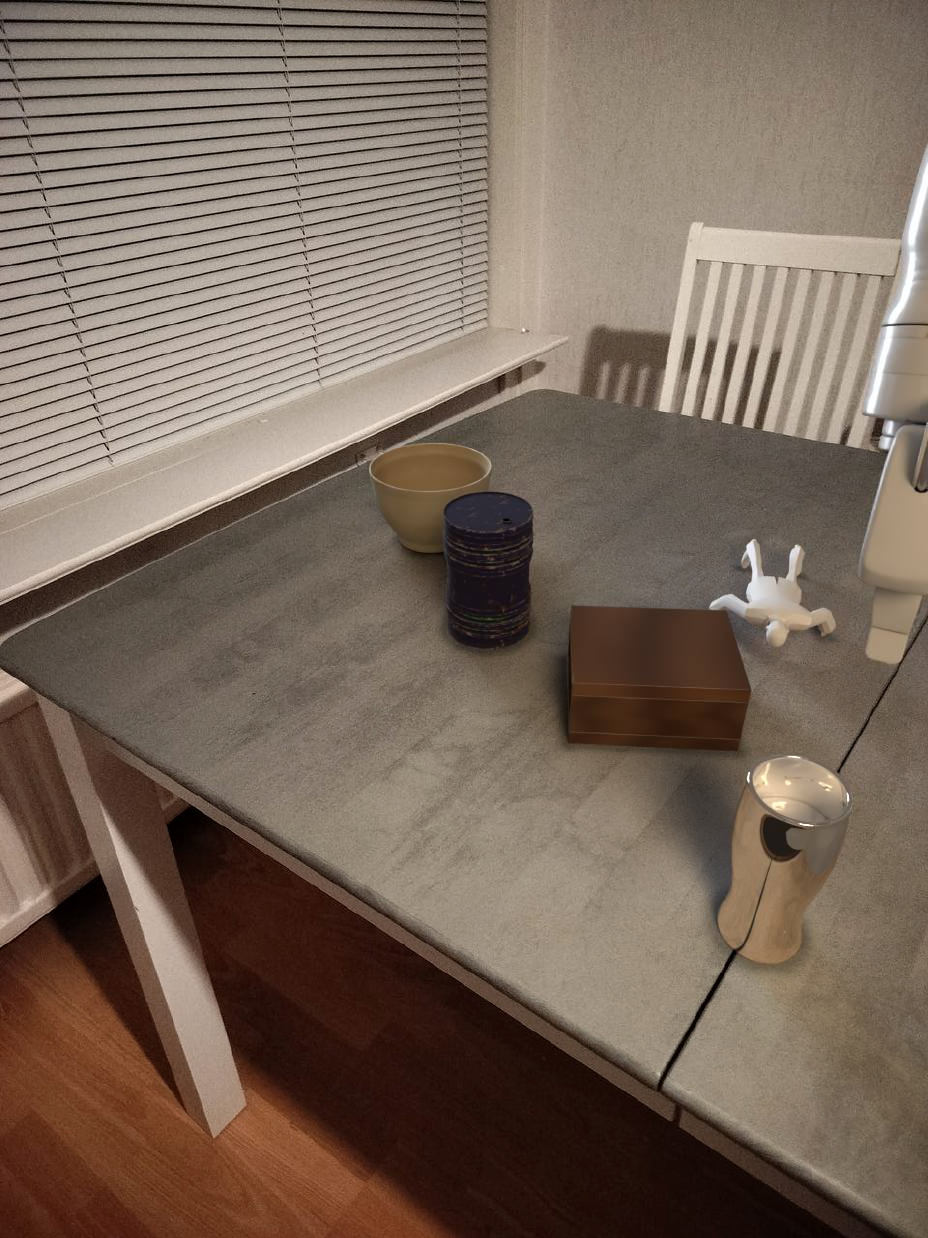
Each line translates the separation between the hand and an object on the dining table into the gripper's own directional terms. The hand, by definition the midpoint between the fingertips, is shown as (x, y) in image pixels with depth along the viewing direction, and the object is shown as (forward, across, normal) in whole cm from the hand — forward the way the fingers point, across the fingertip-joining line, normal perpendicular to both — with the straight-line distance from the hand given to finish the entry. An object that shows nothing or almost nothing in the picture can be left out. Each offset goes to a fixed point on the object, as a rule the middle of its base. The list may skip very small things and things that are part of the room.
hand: (892, 638), depth 48 cm
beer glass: (+26, +6, +4) cm, 27 cm away
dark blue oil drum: (+17, +28, +42) cm, 54 cm away
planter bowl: (+11, +42, +60) cm, 74 cm away
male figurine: (+13, +45, +15) cm, 50 cm away
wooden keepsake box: (+19, +25, +21) cm, 38 cm away
